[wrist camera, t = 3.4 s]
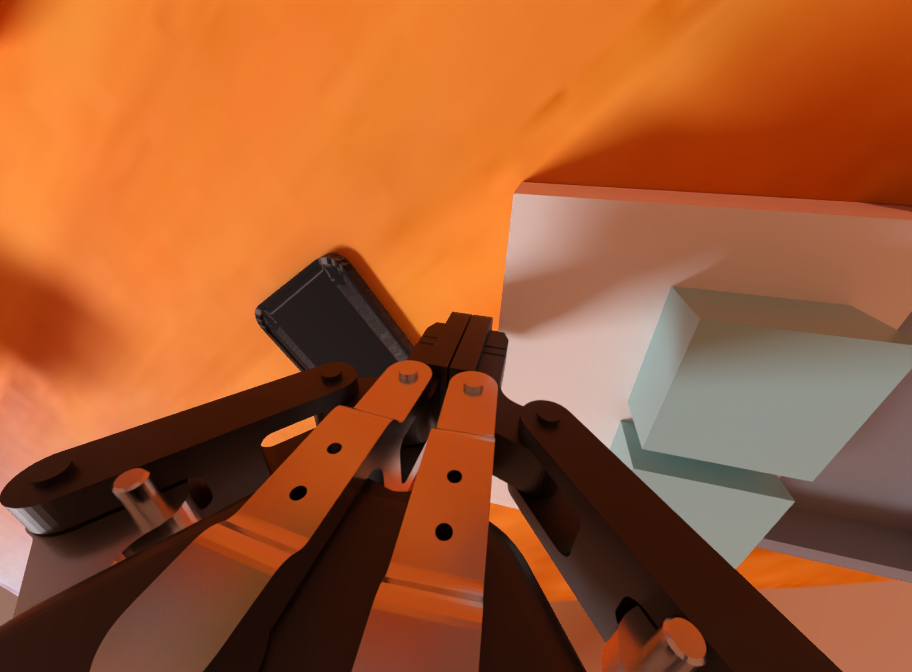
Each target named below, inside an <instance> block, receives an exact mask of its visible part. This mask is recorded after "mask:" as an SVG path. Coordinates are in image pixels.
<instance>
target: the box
mask: <svg viewBox="0 0 912 672" xmlns="http://www.w3.org/2000/svg"><path fill="white" fill-rule="evenodd" d="M861 203H864V202H861ZM866 204H871V205H877V206H882V207H888V208H893V209H898V210H904V211H909V212H912V205H897V204H880V203H866ZM897 330H898V331H900V332H902V333H904V334H906V335H908V336H909V337H911V338H912V312H911V313H910V314H909V315H908V317H907V318H906V319H905V320H904V322H903V323H902V324H901V326H900V327H899V328H898V329H897ZM779 479H780V480H781V482H782V483H783V484H784V486H785V487H786V489H787V490H788V492H789V493H790V495H791V496H792V497H793V499H794V500H795V502H794V503H793V504H792V506H791V507H790V508H789V509H788V510H787V511H786V512H785V514H784V515H783V516H782V517H781V518H780V519H779V520H778V522H777V523H776V524H775V525H774V526H773V527H772V528H771V530H770V531H769V532H768V533H767V534H766V535H765V536H764V538H763V539H762V540H761V541H760V542H759V543H758V544H757V546H756V547H757V548H761V549H765V550H770V551H774V552H779V553H783V554H787V555H792V556H796V557H800V558H805V559H809V560H813V561H818V562H822V563H827V564H831V565H835V566H840V567H844V568H848V569H853V570H857V571H862V572H866V573H870V574H875V575H879V576H883V577H888V578H892V579H896V580H901V581H905V582H910V583H912V369H911V370H910V371H909V372H908V373H907V375H906V376H905V377H904V378H903V379H902V380H901V381H900V383H899V384H898V385H897V386H896V387H895V388H894V389H893V390H892V392H891V393H890V394H889V395H888V396H887V397H886V398H885V400H884V401H883V402H882V403H881V404H880V405H879V406H878V408H877V409H876V410H875V411H874V412H873V413H872V414H871V416H870V417H869V418H868V419H867V420H866V421H865V422H864V424H863V425H862V426H861V427H860V428H859V429H858V430H857V432H856V433H855V434H854V435H853V436H852V437H851V438H850V440H849V441H848V442H847V443H846V444H845V445H844V446H843V447H842V449H841V450H840V451H839V452H838V453H837V454H836V455H835V457H834V458H833V459H832V460H831V461H830V462H829V463H828V465H827V466H826V467H825V468H824V469H823V470H822V471H821V473H820V474H819V475H818V476H817V477H816V478H815V479H814V481H813V482H811V481H806V480H800V479H795V478H790V477H785V476H781V477H780V478H779Z"/></svg>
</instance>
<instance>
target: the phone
mask: <svg viewBox="0 0 912 672" xmlns="http://www.w3.org/2000/svg"><path fill="white" fill-rule="evenodd" d="M255 316H256V320H257V322H258V324H259V325H260V327H261V328H262V329H263V330H264V331H265V333H266V334H267V335H268V336H269V337H270V338H271V339H272V340H273V341H274V342H275V343H276V345H277V346H278V347H279V348H280V349H281V350H282V351H283V352H284V353H285V354H286V356H287V357H288V358H289V359H290V360H291V361H292V362H293V363H294V364H295V365H296V366H297V368H298V369H299V370H300V371H301V372H302V371H305V370H308V369H311V368H314V367H317V366H320V365H323V364H327V363H333V362H343V363H348V364H350V365H352V366H353V367H355V369H356V371H357V376H358V378H363V377H380V376H381V375H382V374H383V373H384V372H385V371H386V369H387V368H388V367H390V366H391V365H393V364H395V363H397V362H401V361H406V360H407V358H408V357H409V355H410V354H411V352H412V351H413V349H414V347H413V345H412V344H411V343H410V341H409V340H408V339H407V337H406V336H405V335H404V333H403V332H402V331H401V329H400V328H399V327H398V325H397V324H396V323H395V321H394V320H393V319H392V318H391V316H390V315H389V314H388V312H387V311H386V310H385V308H384V307H383V306H382V304H381V303H380V302H379V300H378V299H377V298H376V296H375V295H374V294H373V292H372V291H371V290H370V288H369V287H368V286H367V284H366V283H365V282H364V280H363V279H362V278H361V276H360V275H359V274H358V273H357V271H356V270H355V269H354V267H353V266H352V265H351V263H350V262H349V261H348V260H347V259H346V258H344V257H342V256H341V255H338V254H334V253H333V254H327V255H325V256H323V257H321V258H319V259H317V260H315V261H313V262H312V263H311V264H310V265H308V266H307V267H306V268H305V269H303V270H302V271H301V272H300V273H298V274H297V275H296V276H295V277H293V278H292V279H291V280H290V281H288V282H287V283H286V284H285V285H283V286H282V287H281V288H280V289H278V290H277V291H276V292H275V293H273V294H272V295H271V296H270V297H268V298H267V299H266V300H265V301H263V302H262V303H261V304H260V305H258V307H257V308H256V311H255ZM436 427H437V425H436V426H435V428H436Z"/></svg>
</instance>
